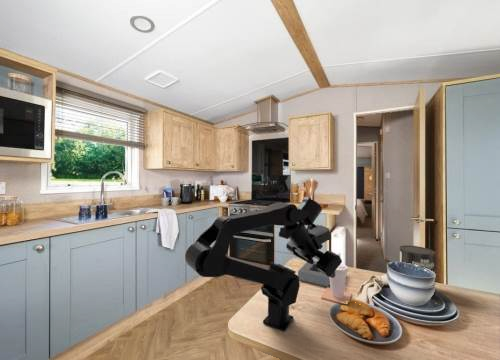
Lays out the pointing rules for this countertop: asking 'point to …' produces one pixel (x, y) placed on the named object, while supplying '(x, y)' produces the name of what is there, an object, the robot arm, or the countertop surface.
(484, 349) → the countertop surface
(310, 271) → the socket block
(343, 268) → the smoothie
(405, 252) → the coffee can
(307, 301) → the countertop surface
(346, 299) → the tile
